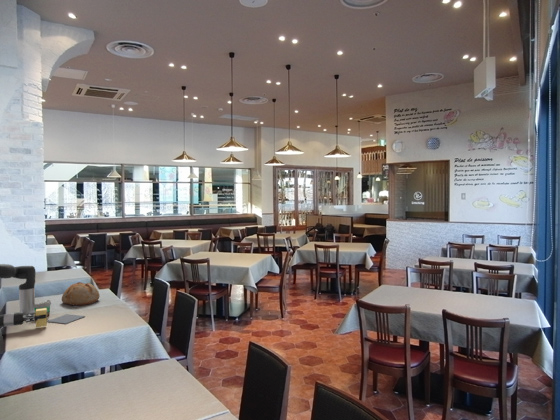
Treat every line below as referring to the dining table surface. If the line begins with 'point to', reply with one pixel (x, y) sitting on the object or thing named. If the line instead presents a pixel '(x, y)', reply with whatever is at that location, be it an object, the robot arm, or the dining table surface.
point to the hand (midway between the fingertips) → (46, 315)
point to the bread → (80, 294)
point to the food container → (43, 306)
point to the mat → (66, 319)
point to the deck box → (43, 321)
